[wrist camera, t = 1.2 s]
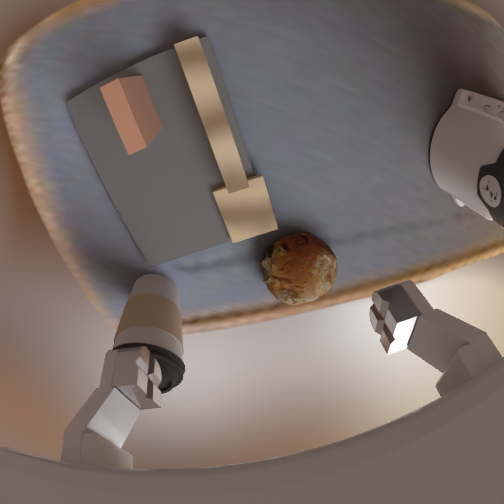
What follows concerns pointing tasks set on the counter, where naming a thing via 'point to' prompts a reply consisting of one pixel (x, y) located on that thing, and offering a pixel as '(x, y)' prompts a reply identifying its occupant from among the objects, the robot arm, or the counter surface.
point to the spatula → (226, 153)
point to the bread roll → (299, 268)
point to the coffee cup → (155, 326)
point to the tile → (132, 112)
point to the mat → (162, 160)
